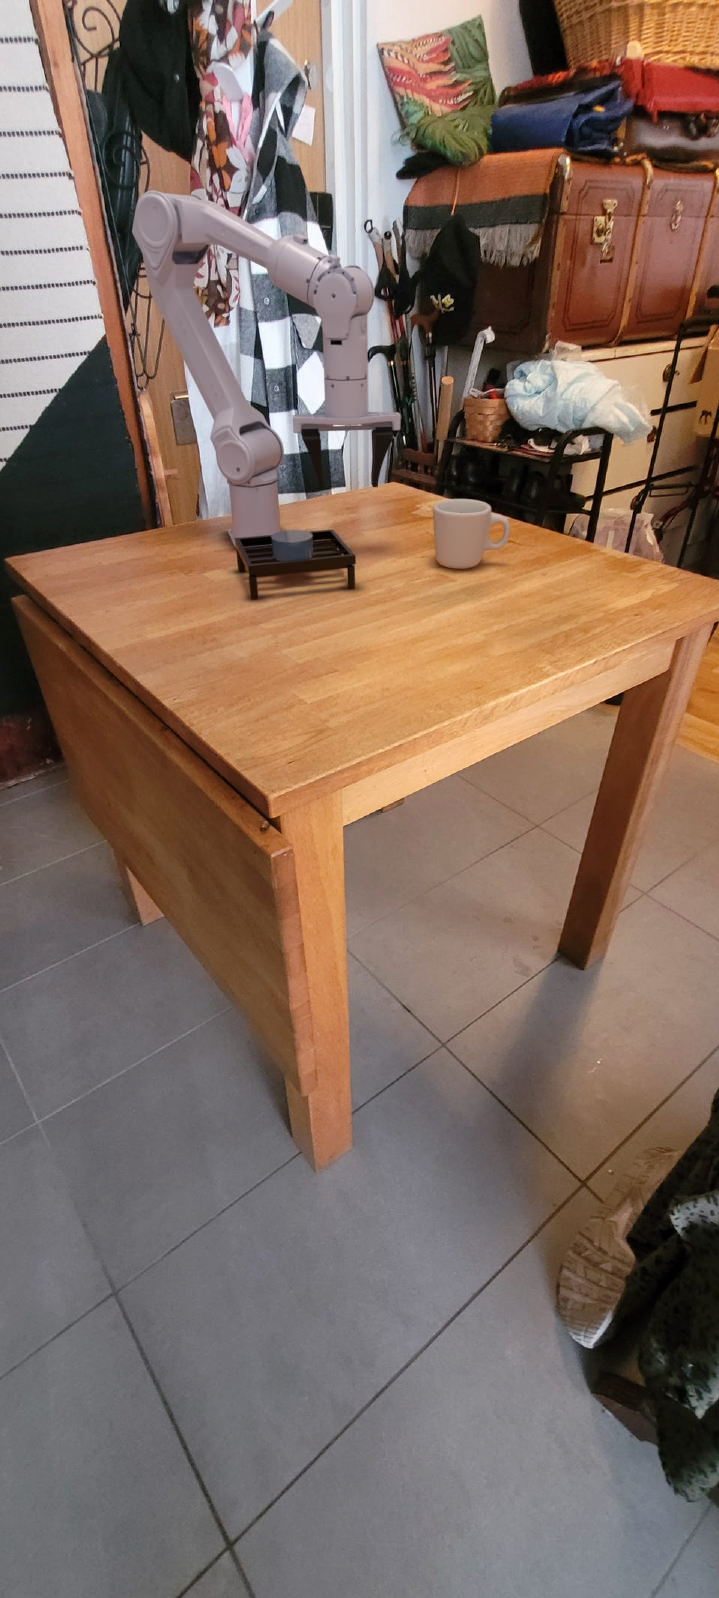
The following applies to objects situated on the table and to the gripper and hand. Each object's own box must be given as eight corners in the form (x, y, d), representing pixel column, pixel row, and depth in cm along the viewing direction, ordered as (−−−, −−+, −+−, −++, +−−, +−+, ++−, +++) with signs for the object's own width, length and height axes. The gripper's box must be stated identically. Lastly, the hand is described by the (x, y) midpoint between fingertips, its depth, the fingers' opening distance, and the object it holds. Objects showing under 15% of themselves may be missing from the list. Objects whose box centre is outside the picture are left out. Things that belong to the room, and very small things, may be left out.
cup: (504, 556, 112) (510, 499, 108) (507, 574, 106) (514, 514, 101) (430, 554, 113) (433, 497, 108) (429, 572, 107) (432, 513, 102)
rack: (237, 570, 108) (234, 537, 106) (333, 560, 111) (333, 529, 109) (251, 600, 99) (248, 565, 96) (356, 589, 102) (355, 555, 99)
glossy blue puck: (292, 546, 106) (290, 527, 105) (322, 554, 103) (321, 534, 102) (264, 556, 103) (262, 536, 101) (294, 564, 100) (293, 544, 98)
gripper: (396, 372, 105) (394, 478, 112) (289, 375, 103) (295, 481, 111) (403, 379, 99) (401, 489, 107) (291, 382, 98) (297, 493, 106)
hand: (347, 486), depth 109 cm, fingers open, 7 cm apart
